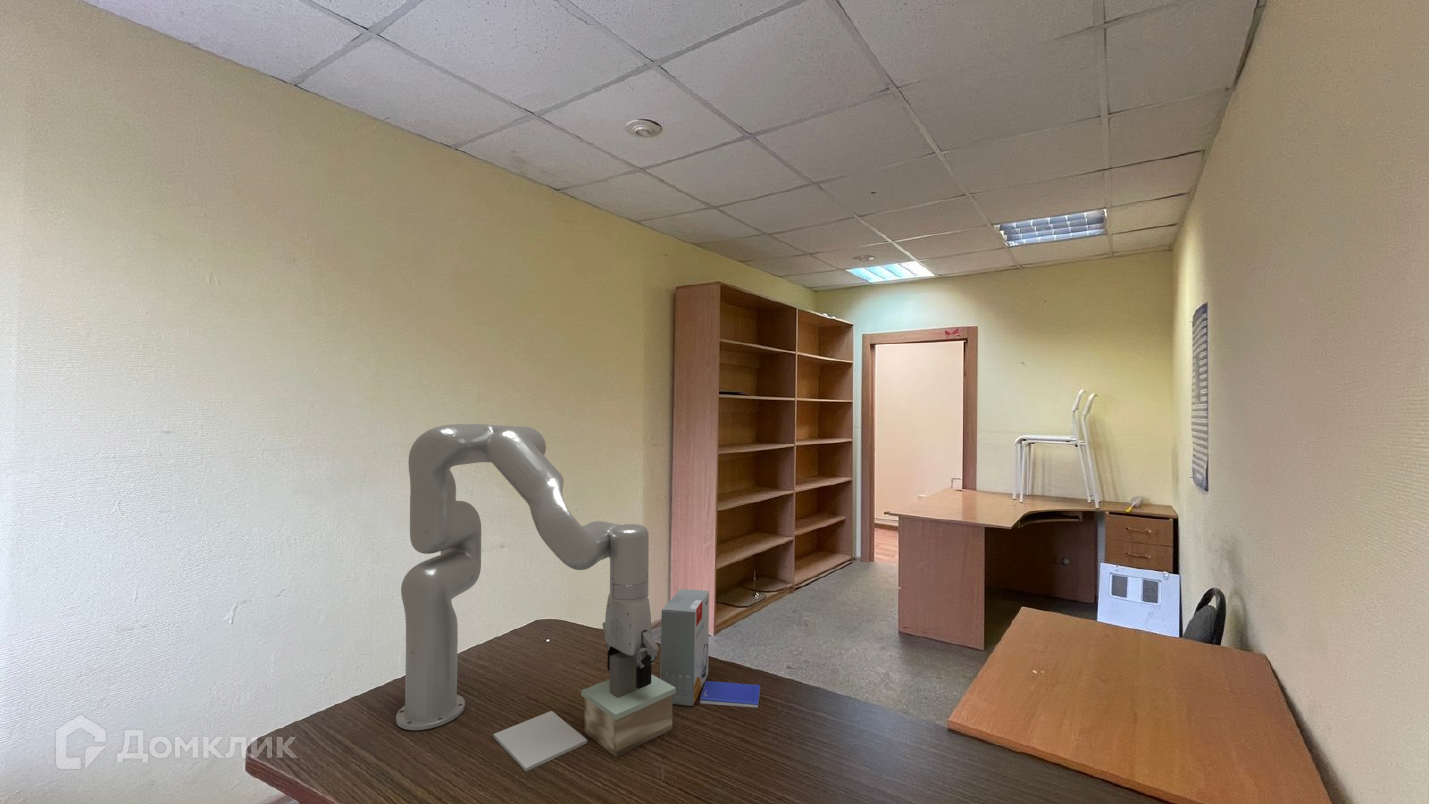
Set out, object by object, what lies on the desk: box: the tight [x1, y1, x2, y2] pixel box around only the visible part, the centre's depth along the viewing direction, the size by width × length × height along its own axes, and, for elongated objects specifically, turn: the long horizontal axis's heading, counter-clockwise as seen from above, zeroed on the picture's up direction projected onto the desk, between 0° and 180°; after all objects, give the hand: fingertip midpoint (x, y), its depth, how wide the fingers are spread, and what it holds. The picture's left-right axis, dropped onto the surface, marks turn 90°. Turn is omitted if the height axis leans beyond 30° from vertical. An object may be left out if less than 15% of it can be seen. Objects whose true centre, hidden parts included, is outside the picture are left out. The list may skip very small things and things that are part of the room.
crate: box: [584, 695, 673, 758], centre depth 107 cm, size 11×13×7 cm
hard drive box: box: [659, 588, 710, 707], centre depth 124 cm, size 16×8×20 cm, turn 168°
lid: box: [580, 647, 676, 720], centre depth 107 cm, size 12×14×9 cm
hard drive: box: [699, 680, 761, 709], centre depth 120 cm, size 2×8×12 cm
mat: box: [493, 710, 588, 772], centre depth 104 cm, size 14×12×1 cm
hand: (628, 677), depth 107 cm, fingers open, 9 cm apart
